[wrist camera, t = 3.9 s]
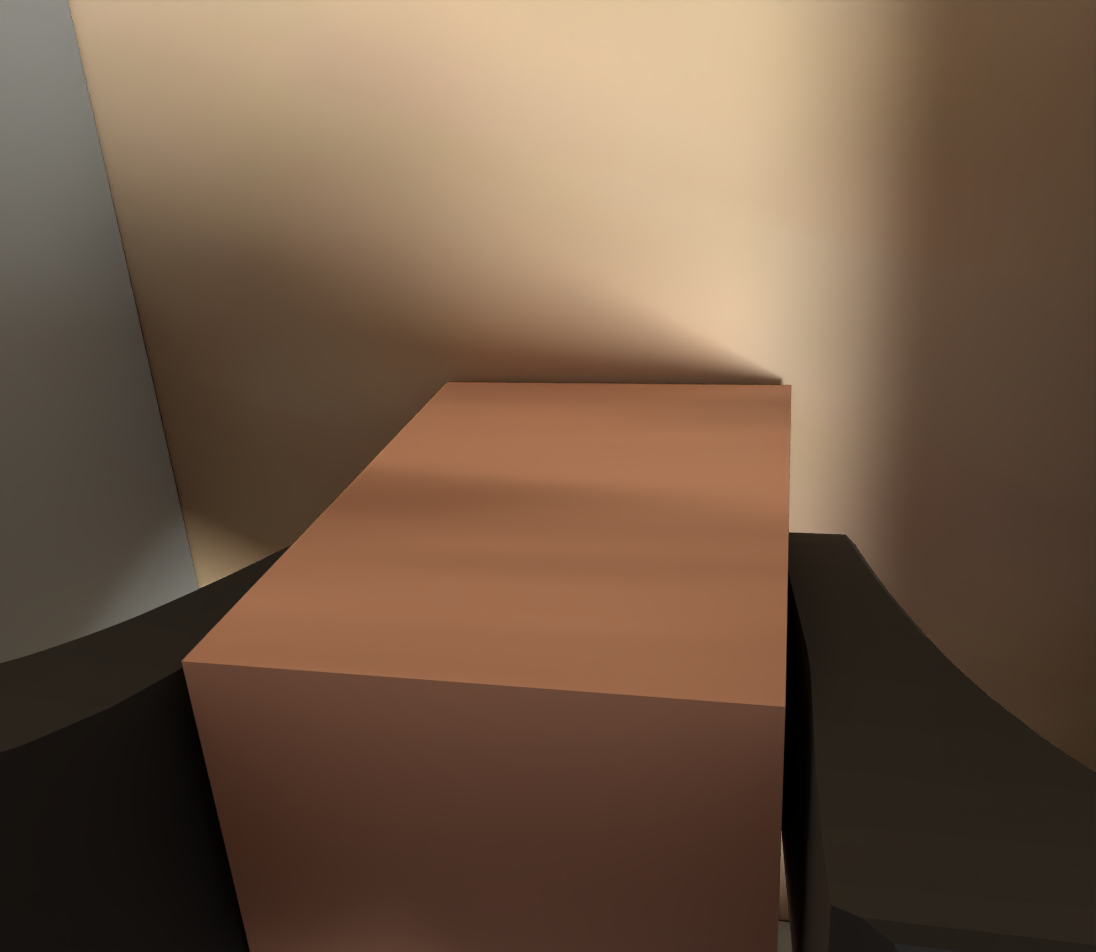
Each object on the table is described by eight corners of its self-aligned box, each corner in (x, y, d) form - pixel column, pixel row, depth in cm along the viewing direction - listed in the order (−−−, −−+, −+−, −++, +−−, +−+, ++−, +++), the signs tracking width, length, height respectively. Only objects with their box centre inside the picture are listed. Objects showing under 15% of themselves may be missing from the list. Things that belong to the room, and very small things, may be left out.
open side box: (1139, 1009, 14) (1256, 1350, 10) (222, 890, 17) (69, 1124, 13) (1401, -165, 9) (1823, -288, 5) (-4, -33, 12) (-357, -53, 8)
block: (781, 687, 13) (769, 1152, 8) (477, 665, 14) (278, 1070, 9) (791, 384, 12) (785, 706, 6) (446, 382, 12) (181, 661, 7)
